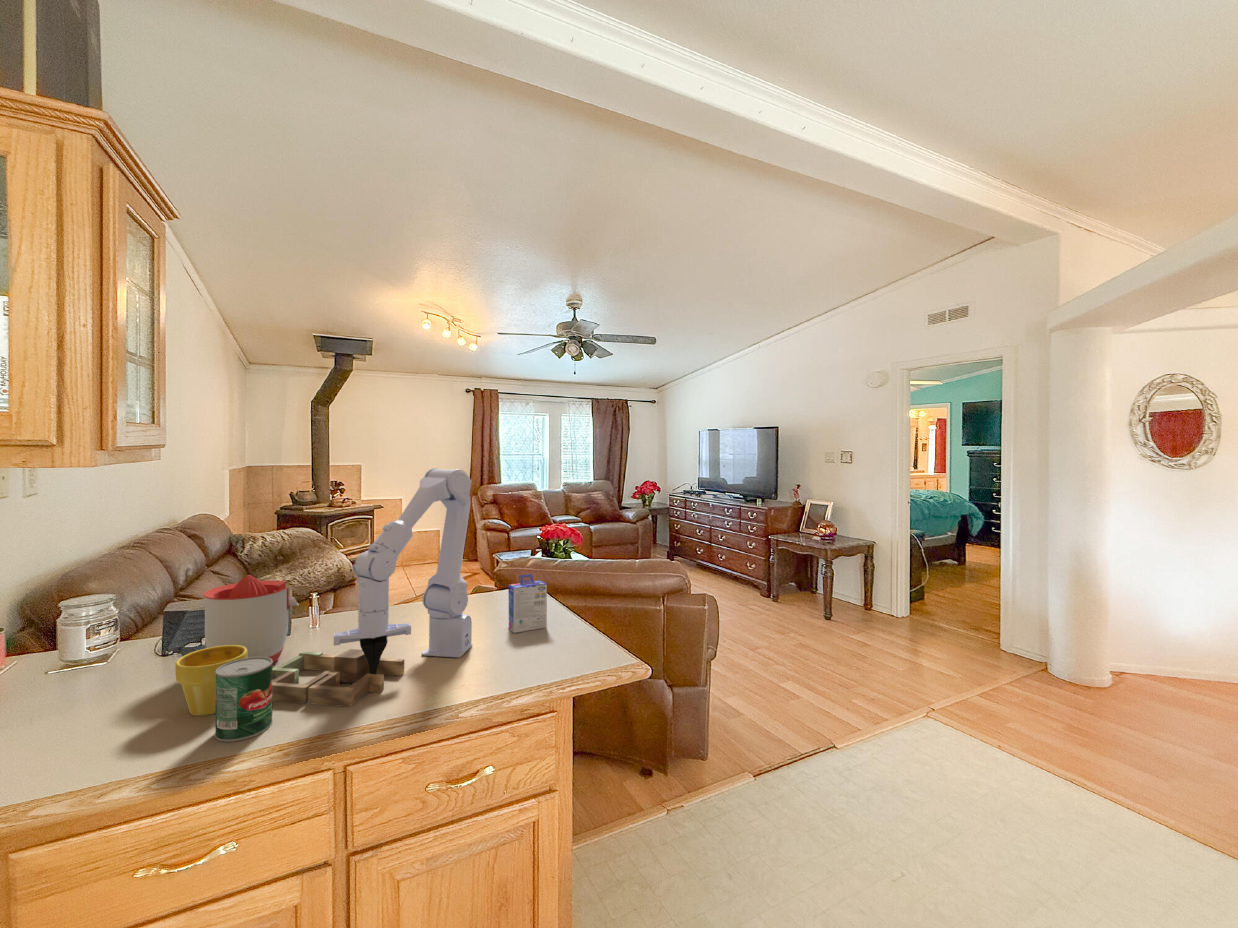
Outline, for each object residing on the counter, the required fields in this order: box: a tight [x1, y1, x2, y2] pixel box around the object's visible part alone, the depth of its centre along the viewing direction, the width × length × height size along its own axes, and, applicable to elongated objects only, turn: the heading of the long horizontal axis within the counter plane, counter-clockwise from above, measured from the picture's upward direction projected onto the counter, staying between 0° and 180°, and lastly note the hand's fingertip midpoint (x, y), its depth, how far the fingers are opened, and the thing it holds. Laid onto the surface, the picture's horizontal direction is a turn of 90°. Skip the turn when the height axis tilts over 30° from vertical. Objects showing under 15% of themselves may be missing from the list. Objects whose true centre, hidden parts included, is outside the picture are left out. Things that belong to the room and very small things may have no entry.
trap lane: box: [272, 650, 405, 708], centre depth 103 cm, size 24×15×3 cm, turn 84°
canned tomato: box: [214, 657, 274, 743], centre depth 86 cm, size 8×8×11 cm
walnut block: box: [334, 648, 370, 684], centre depth 106 cm, size 5×5×5 cm
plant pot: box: [174, 645, 248, 717], centre depth 93 cm, size 10×10×10 cm
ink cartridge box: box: [507, 573, 548, 634], centre depth 139 cm, size 10×6×14 cm, turn 120°
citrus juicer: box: [203, 574, 299, 664], centre depth 113 cm, size 16×17×20 cm
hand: (372, 672), depth 106 cm, fingers closed
